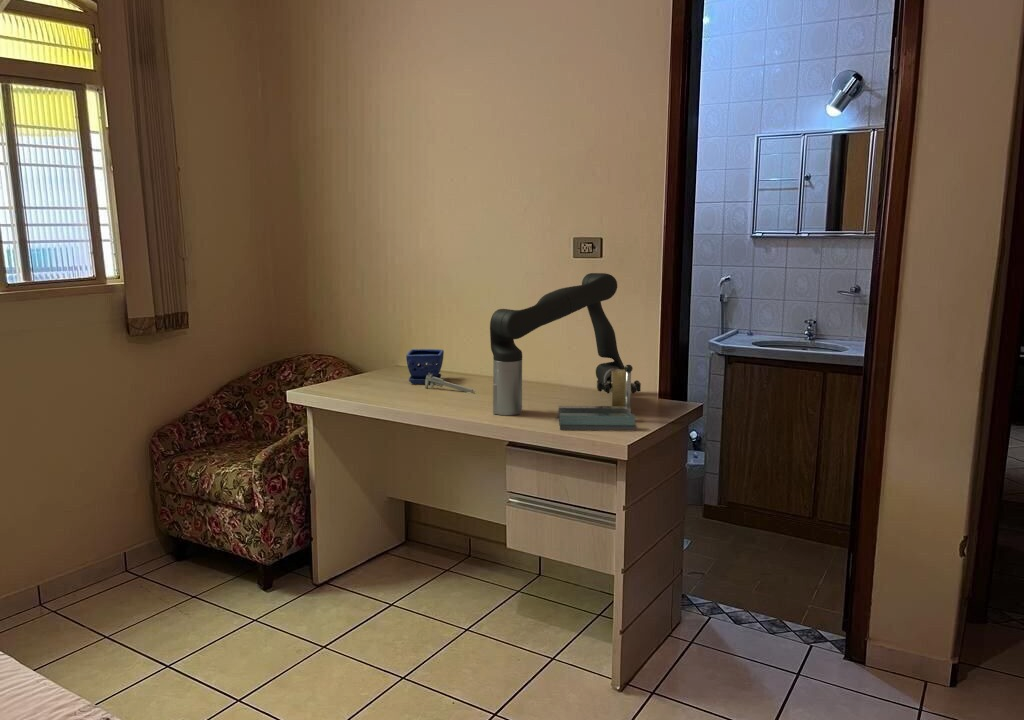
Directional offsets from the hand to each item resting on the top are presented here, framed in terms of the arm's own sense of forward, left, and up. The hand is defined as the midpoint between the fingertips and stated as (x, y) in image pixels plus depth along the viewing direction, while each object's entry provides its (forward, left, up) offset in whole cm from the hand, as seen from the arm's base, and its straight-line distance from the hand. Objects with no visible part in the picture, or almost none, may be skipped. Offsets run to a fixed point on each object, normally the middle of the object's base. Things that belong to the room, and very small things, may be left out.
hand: (621, 390), depth 250 cm
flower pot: (-69, +52, -8) cm, 87 cm away
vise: (-9, -13, -8) cm, 18 cm away
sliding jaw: (-9, -7, -7) cm, 13 cm away
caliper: (-58, +36, -9) cm, 69 cm away
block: (0, +2, -8) cm, 8 cm away
